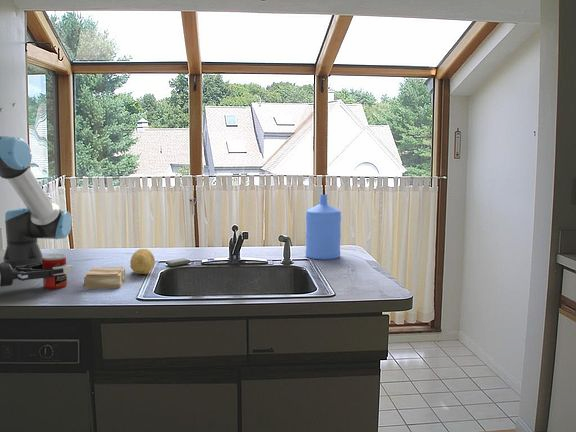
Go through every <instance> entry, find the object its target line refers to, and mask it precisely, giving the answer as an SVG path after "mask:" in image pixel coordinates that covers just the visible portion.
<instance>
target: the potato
mask: <svg viewBox="0 0 576 432" xmlns="http://www.w3.org/2000/svg"><path fill="white" fill-rule="evenodd" d="M129 264H130V269H131V270H132V272H133V273H136V274H138V275H144V274H145V275H147V274H149V273H150V272H151V271H153V269H154V268H155V264H156V260H155V256H154V254H153V252H152V251H151V249H148V248H140V249H138V250H135V252H134V253H133V254H132V256H131V258H130V263H129Z"/></svg>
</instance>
